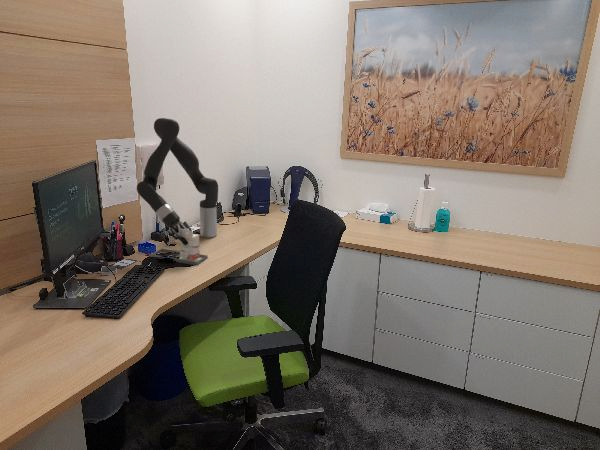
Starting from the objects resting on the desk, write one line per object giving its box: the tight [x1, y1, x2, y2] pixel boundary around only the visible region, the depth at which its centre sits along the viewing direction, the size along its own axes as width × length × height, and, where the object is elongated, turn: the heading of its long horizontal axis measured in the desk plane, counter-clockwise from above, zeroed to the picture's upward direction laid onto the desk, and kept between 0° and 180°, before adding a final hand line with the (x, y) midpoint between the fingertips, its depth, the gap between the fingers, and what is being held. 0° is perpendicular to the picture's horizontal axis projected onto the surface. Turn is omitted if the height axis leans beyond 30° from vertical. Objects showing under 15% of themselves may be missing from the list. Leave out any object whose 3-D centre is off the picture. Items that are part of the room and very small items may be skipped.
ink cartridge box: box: [179, 229, 201, 260], centre depth 210 cm, size 9×5×15 cm, turn 63°
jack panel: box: [149, 247, 209, 266], centre depth 214 cm, size 10×26×2 cm, turn 74°
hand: (190, 242), depth 210 cm, fingers closed on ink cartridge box, 5 cm apart
